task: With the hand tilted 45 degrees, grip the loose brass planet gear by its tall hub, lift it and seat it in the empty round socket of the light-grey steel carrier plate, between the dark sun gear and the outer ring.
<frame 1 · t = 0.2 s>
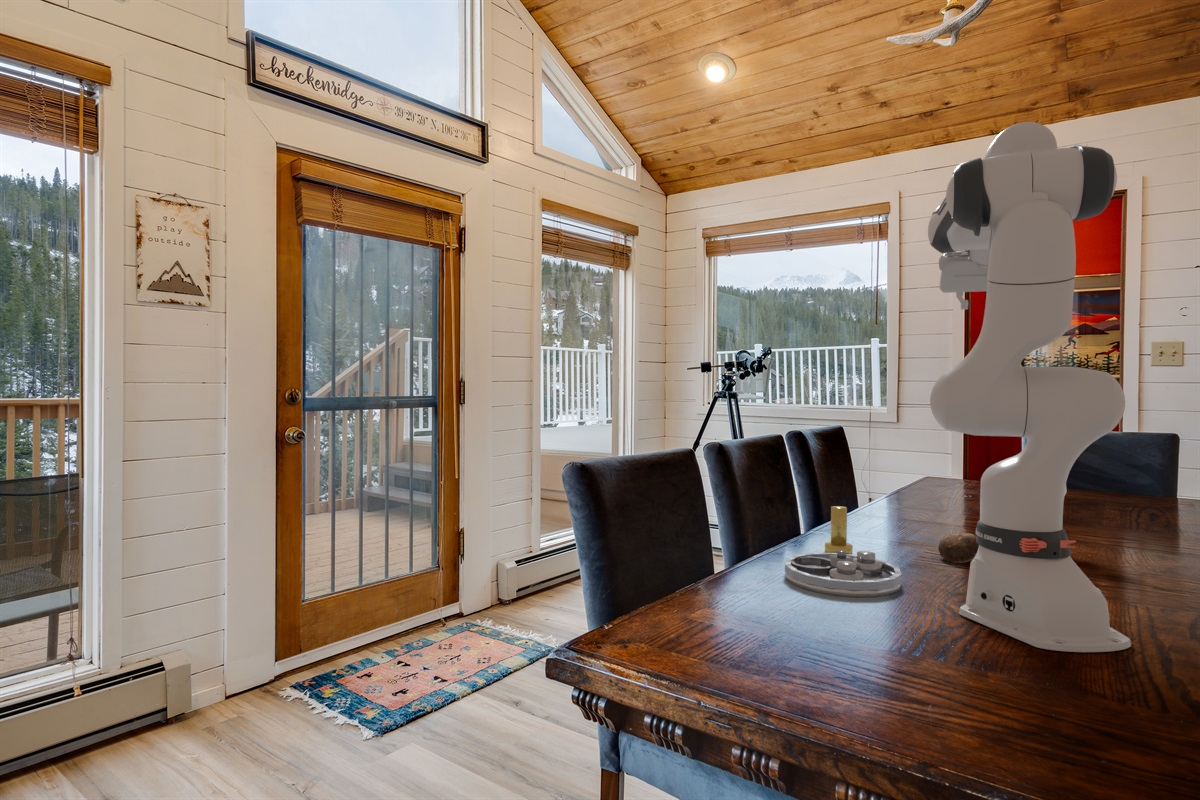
hand: (987, 308, 157), 54 cm above the table, tool tilted 30°, fingers open, 8 cm apart
champagne flute: (1047, 550, 150), on the table
brown rounded lump: (959, 562, 140), on the table
carrier: (841, 580, 126), on the table
planet gear: (838, 552, 146), on the table
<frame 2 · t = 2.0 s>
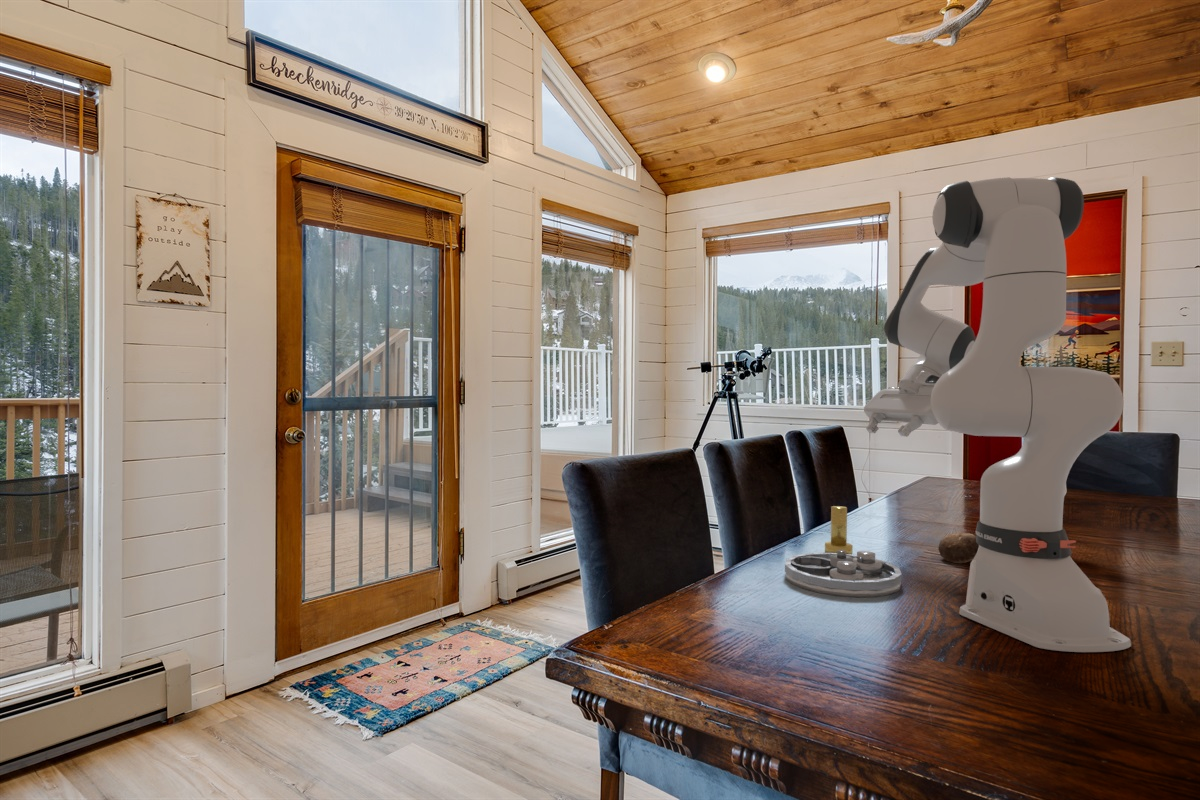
hand: (885, 432, 150), 25 cm above the table, tool tilted 45°, fingers open, 8 cm apart
nothing on the table moved.
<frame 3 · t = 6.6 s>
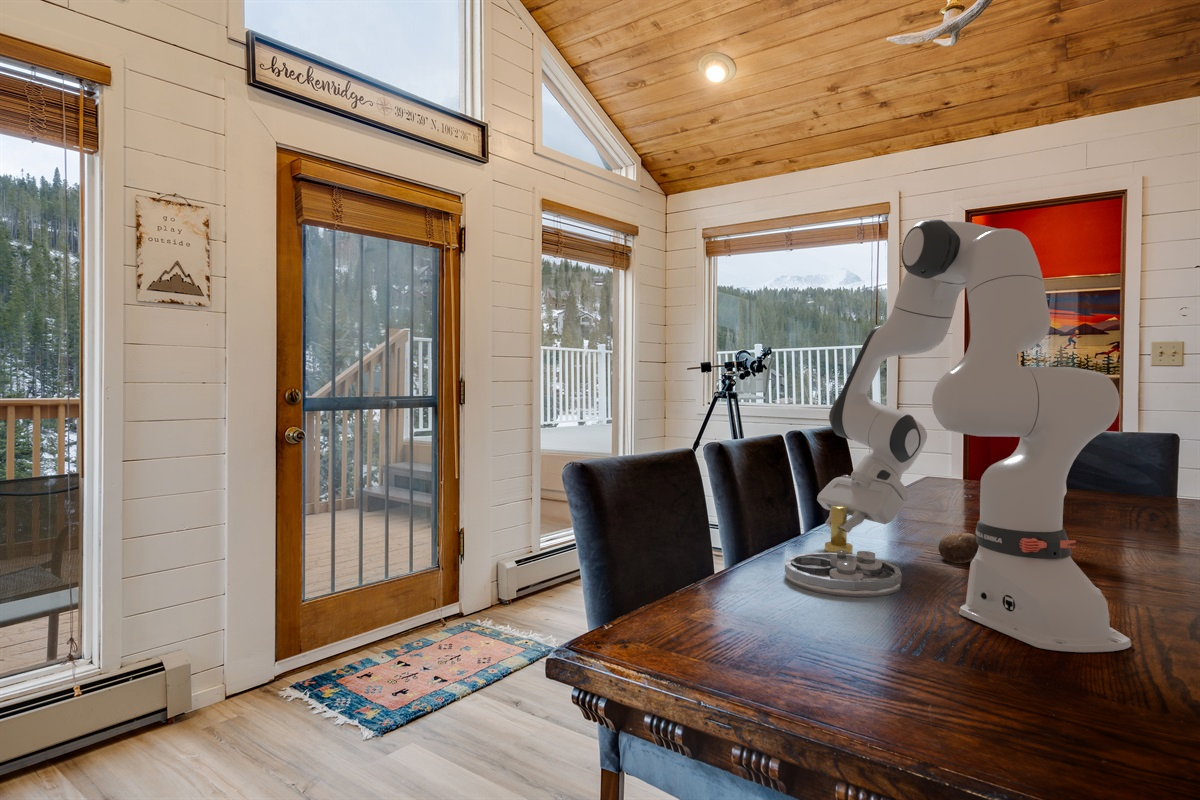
hand: (836, 527, 146), 5 cm above the table, tool tilted 45°, fingers closed on planet gear, 3 cm apart
planet gear: (838, 552, 146), on the table, touching gripper
everything else where it was.
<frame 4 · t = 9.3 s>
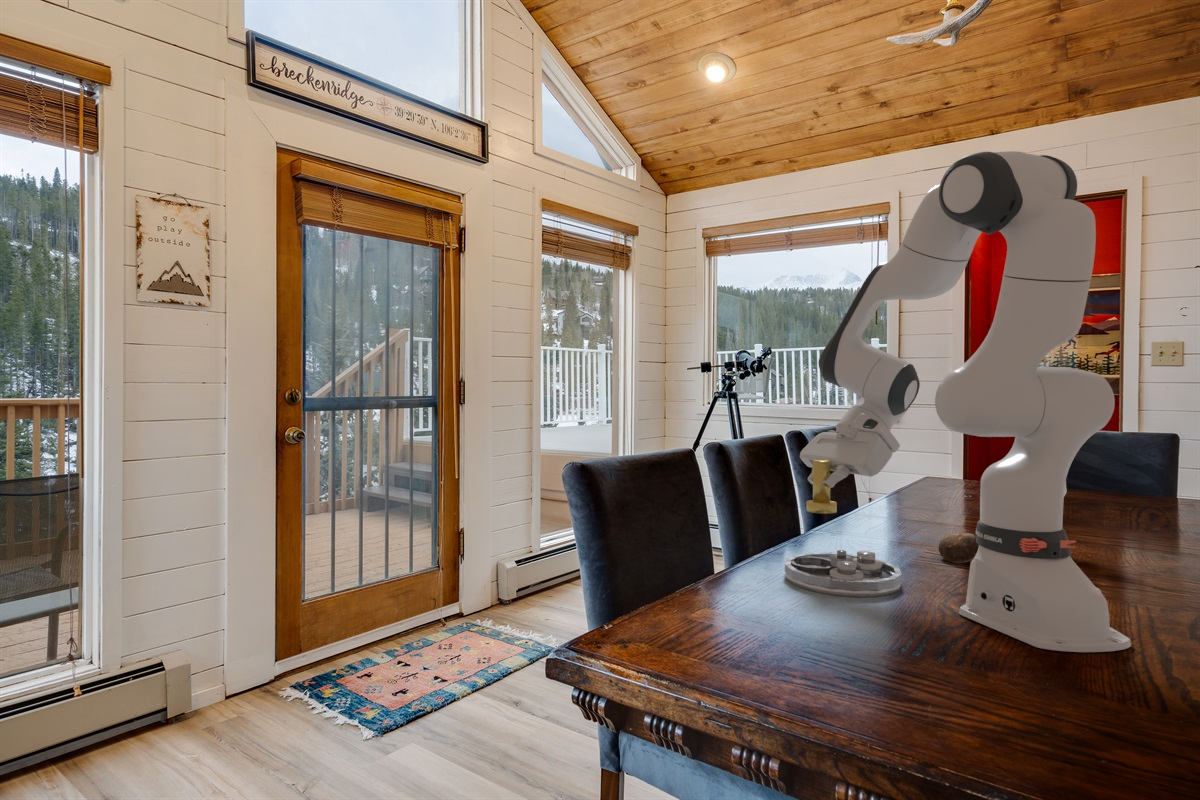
hand: (819, 483, 132), 17 cm above the table, tool tilted 45°, fingers closed on planet gear, 3 cm apart
planet gear: (821, 511, 133), point 11 cm above the table, touching gripper
everything else where it was.
when the fingers open (8 cm above the table, at t = 11.7 s): planet gear drops 2 cm, resting on carrier.
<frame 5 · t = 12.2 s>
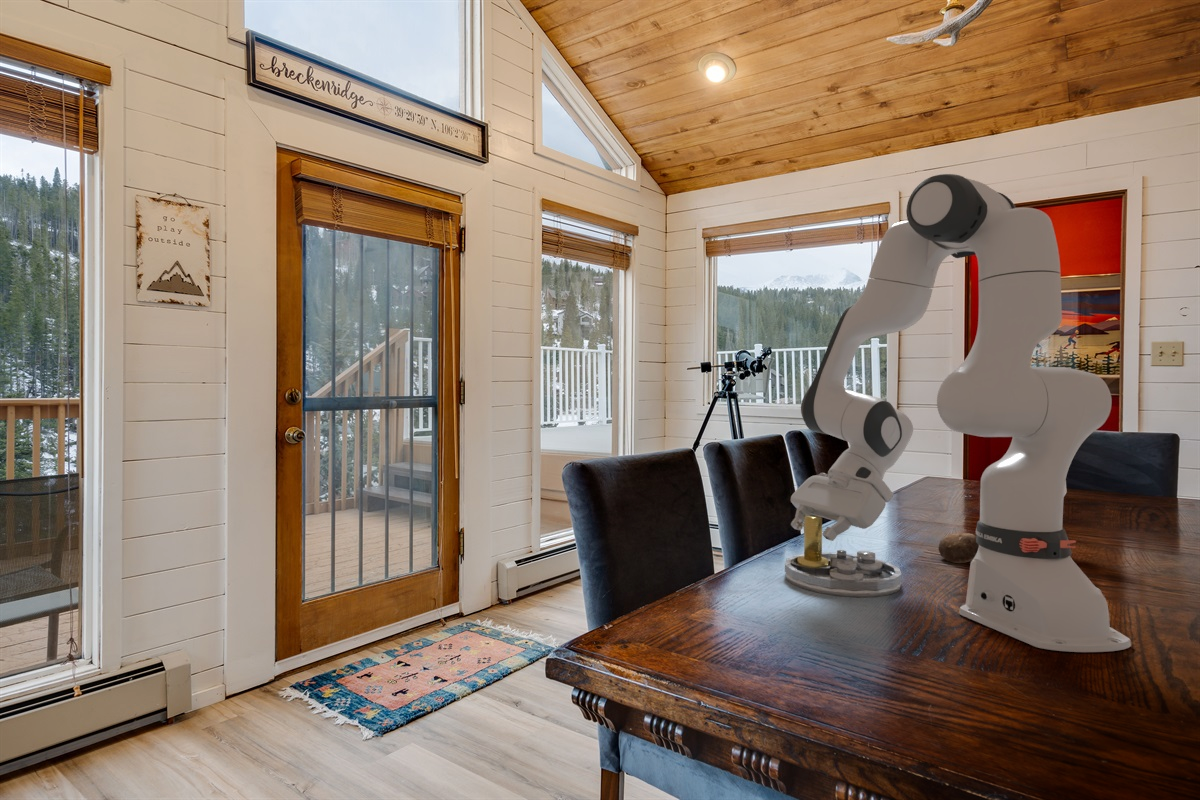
hand: (810, 532, 129), 8 cm above the table, tool tilted 45°, fingers open, 8 cm apart
planet gear: (812, 568, 129), point 1 cm above the table, touching carrier
everything else where it was.
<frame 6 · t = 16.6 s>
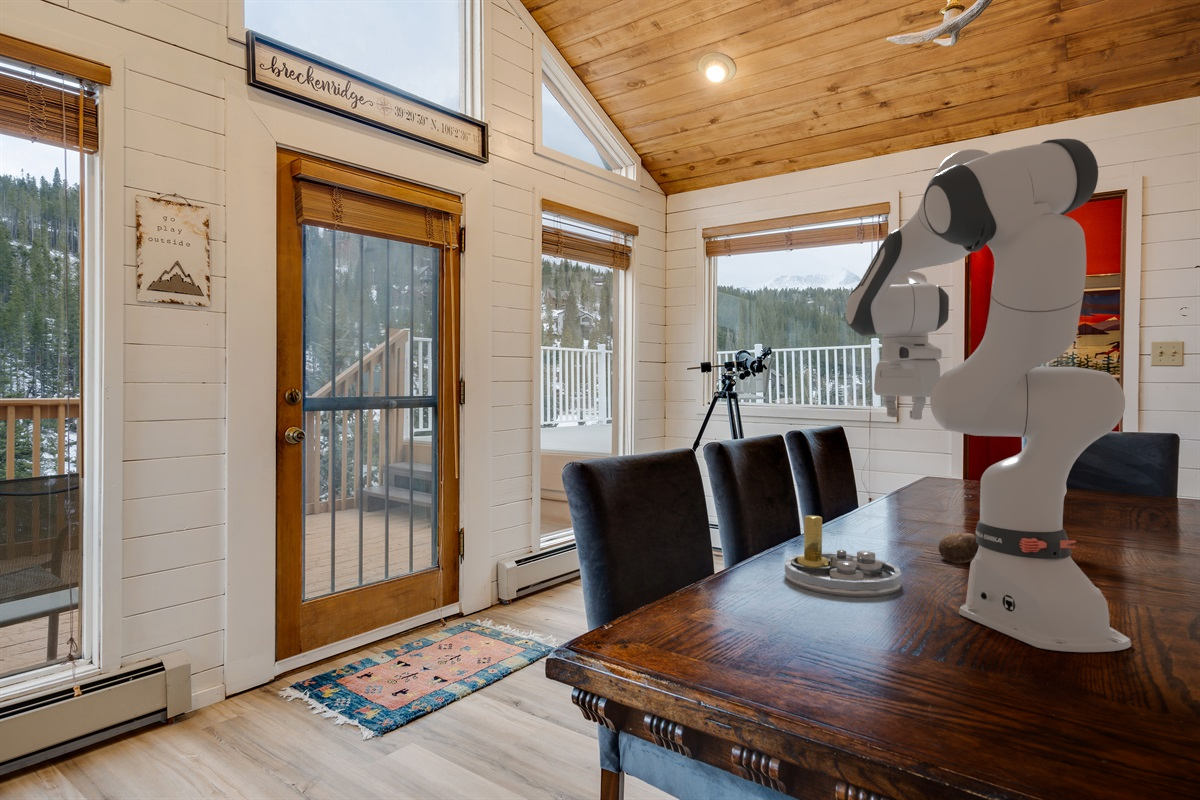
hand: (903, 418, 142), 29 cm above the table, tool pointing down, fingers open, 8 cm apart
nothing on the table moved.
at the end: planet gear 0.1 cm from the target spot on the carrier, point 1.2 cm above the carrier's base; planet gear tilted 0°; the gripper is holding nothing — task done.
